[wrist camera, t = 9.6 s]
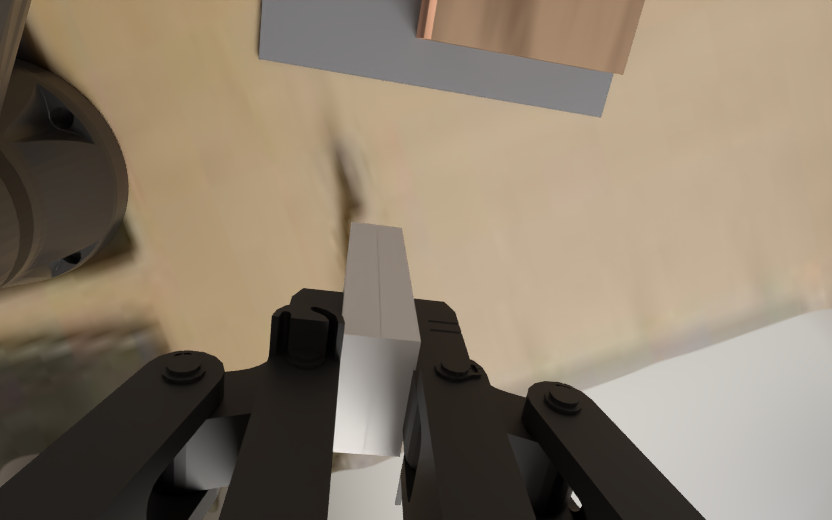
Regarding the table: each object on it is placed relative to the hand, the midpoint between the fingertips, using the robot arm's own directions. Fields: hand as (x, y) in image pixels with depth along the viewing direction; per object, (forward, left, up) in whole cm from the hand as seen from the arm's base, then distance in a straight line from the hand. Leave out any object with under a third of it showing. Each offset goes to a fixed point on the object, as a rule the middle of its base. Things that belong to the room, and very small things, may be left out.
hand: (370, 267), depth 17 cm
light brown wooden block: (+2, +10, -21) cm, 23 cm away
